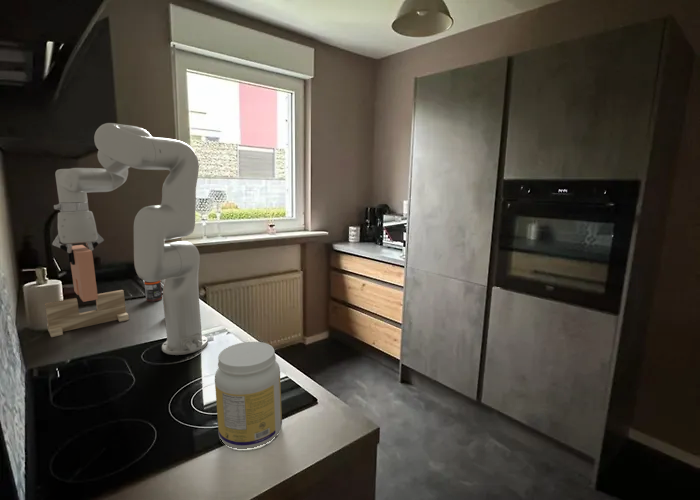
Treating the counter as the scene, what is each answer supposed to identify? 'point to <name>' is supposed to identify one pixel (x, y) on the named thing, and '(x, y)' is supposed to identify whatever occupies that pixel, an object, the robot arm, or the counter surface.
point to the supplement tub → (248, 395)
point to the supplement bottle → (153, 291)
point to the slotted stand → (85, 313)
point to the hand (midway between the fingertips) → (81, 262)
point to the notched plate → (84, 273)
